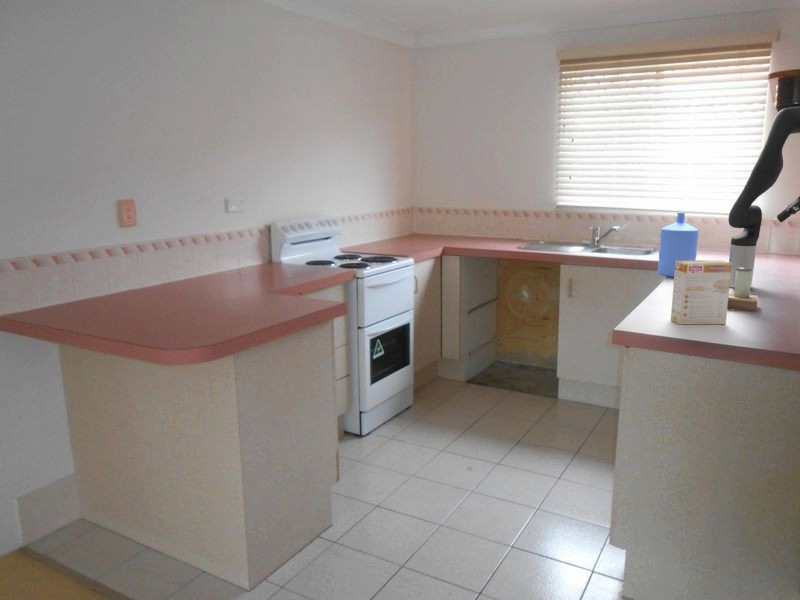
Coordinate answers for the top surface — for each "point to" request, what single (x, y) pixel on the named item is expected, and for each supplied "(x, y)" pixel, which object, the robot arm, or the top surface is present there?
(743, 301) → the walnut plinth
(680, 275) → the coffeecake box
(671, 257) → the water jug
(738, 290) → the spice jar
